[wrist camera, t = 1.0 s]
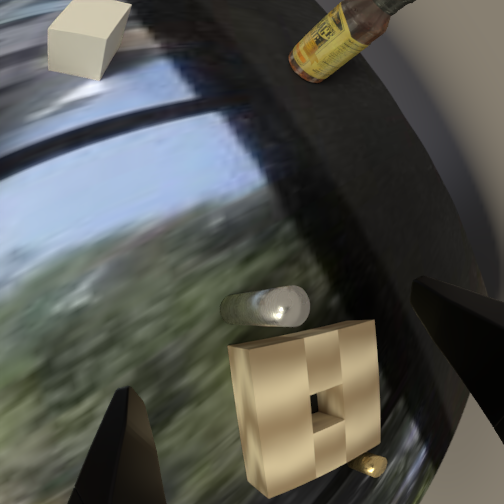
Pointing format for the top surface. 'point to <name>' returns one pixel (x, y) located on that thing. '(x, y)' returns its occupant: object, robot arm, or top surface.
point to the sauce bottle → (341, 36)
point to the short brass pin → (369, 464)
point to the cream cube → (86, 37)
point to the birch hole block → (306, 402)
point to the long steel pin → (267, 307)
